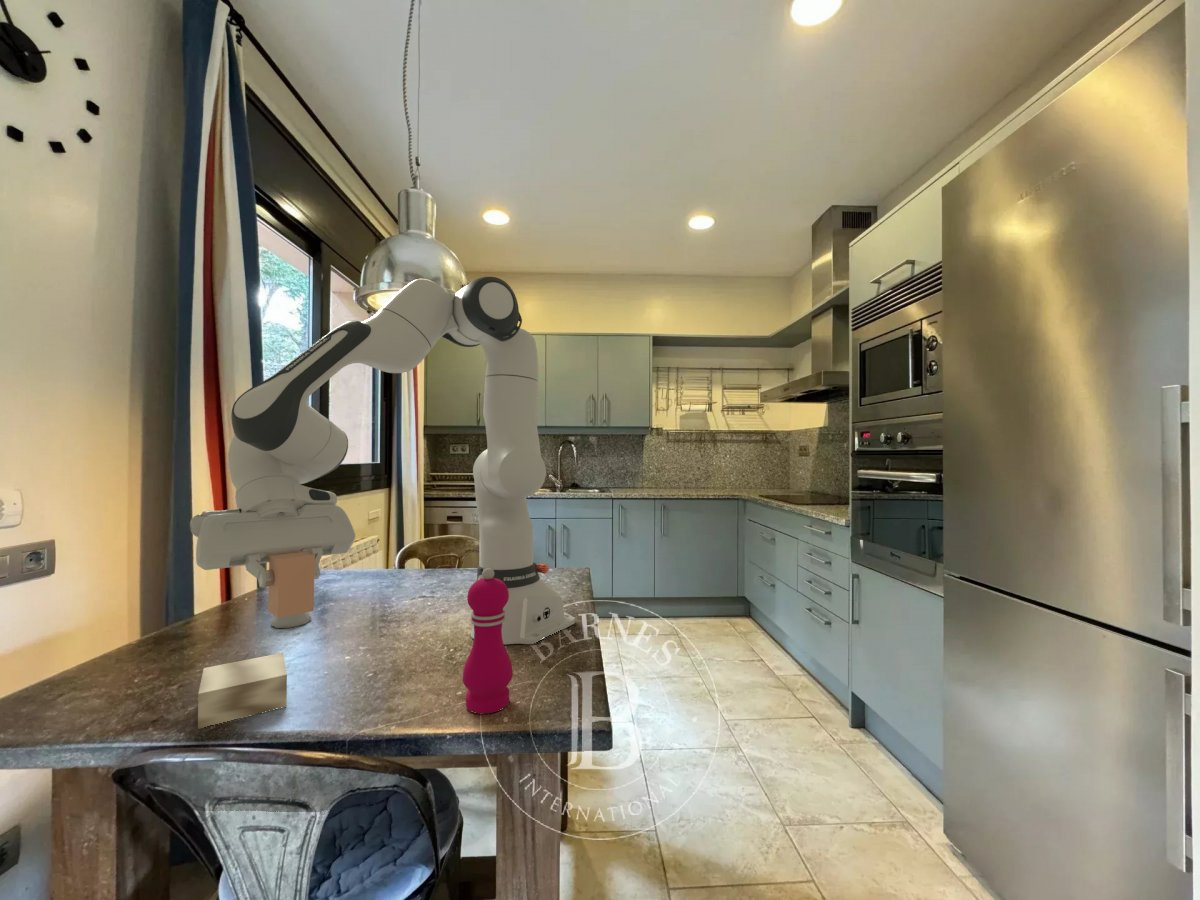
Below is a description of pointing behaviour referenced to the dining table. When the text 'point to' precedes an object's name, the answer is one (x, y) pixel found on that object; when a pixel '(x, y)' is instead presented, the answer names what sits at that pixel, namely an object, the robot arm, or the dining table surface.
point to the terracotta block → (291, 584)
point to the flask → (291, 620)
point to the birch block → (241, 689)
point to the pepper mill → (487, 647)
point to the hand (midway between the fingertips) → (291, 580)
